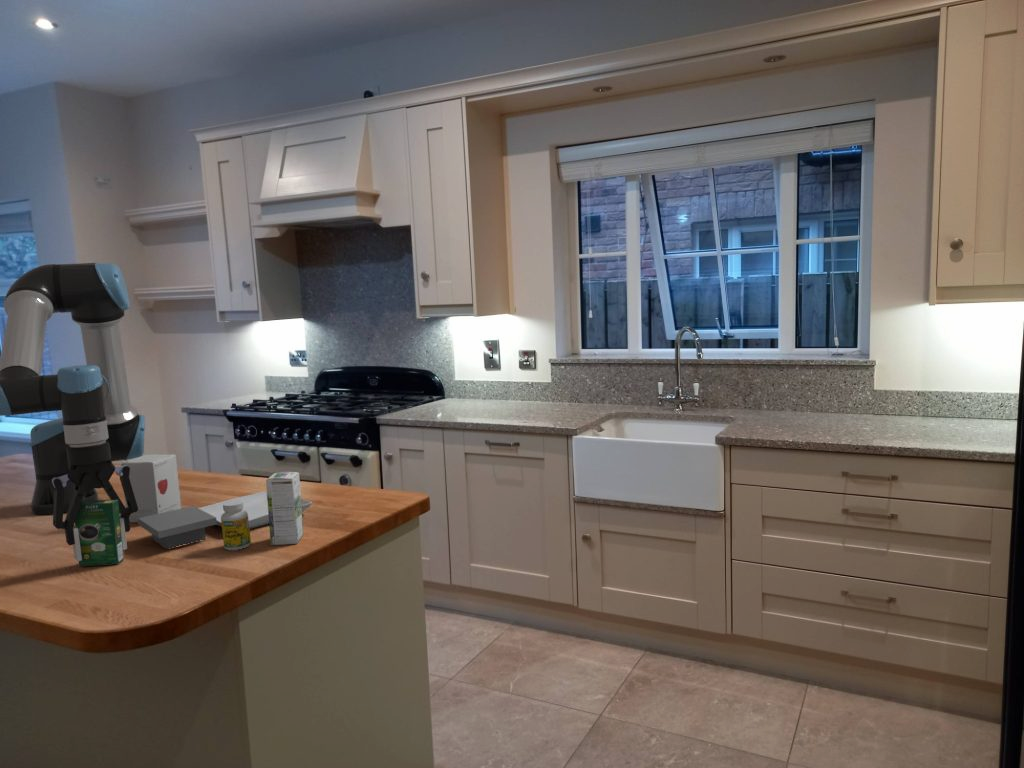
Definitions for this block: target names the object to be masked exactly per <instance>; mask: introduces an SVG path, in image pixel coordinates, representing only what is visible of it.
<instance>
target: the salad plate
mask: <svg viewBox="0 0 1024 768" xmlns="http://www.w3.org/2000/svg"><path fill="white" fill-rule="evenodd" d="M236 500H240V501H243V506H244V507H243V510H245V511H246V512H247V513H248V520H249V530H251V529H256V528H259V527H262V526H266V525H269V515H268V501H267V490H266V491H260V492H258V493H252V494H247V495H243V496H239V497H235V498H231V499H227V500H224V501H220V502H217V503H212V504H209V505H205V506H202V507H198V508H199V509H200V510H202V511H204V512H206V513H208V514H210V515H212V516H214V517H216V521H217V524H216V526H219V527H221V528H222V523H221V516H222V514H223V513H225V511H224V510H223V504H224V503H226V502H229V501H236ZM312 504H313V502H312V501H309V500H307V499H303V498H301V506H302V513H303V512H304V511H306V510H308V509H309V508H310V507H311V505H312Z"/></svg>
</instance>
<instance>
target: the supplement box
mask: <svg viewBox="0 0 1024 768" xmlns="http://www.w3.org/2000/svg"><path fill="white" fill-rule="evenodd" d="M177 463H178V462H177V455H176V454H172V453H171V454H143V455H142V456H140V457H137V458H134V459H128V460H126V461H122V462H121V464H120V466H121V465H126V466H128V467H129V468H130V473H129V479H130V482H131V486H132V489H133V493H134V496H135V499H136V503H137V506H138V511H137V512H134V513H132V514H130V517H129V522H130V523H138V518H142V517H146V516H150V515H155V514H159V513H164V512H168V511H173V510H177V509H181V508H182V503H181V502H182V501H181V493H180V484H179V483H180V482H179V473H178V465H177ZM123 495H124V496H125V494H124V493H123ZM124 503H125V508H127V507H128V505H127V501H126V498H125V497H124Z"/></svg>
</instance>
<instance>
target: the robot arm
mask: <svg viewBox="0 0 1024 768" xmlns="http://www.w3.org/2000/svg"><path fill="white" fill-rule="evenodd" d="M130 307H131V304H130V298H129V295H128V288H127V285H126V282H125V278H124V276H123V273H122V270H121V268H120V267H119V266H118V265H116V264H115V263H111V262H110V263H108V262H107V263H104V262H103V263H102V262H101V263H100V262H84V263H64V264H55V263H52V264H51V263H49V264H44V265H40V266H37V267H35V268H32V269H30V270H28V271H26V272H24V274H22V275H21V276H19V277H18V278H17V279H16V280H15V281H14V282H13V284H12V285H11V286H10V287H9V288H8V291H7V293H6V295H5V297H4V304H3V308H4V313H5V315H7V317H6V321H5V322H6V323H5V328H4V333H3V340H2V346H1V351H0V417H3V416H5V417H6V416H7V417H10V416H18V415H27V414H36V413H43V412H58V411H61V418H55V419H52V420H48V421H44V422H40V423H38V424H36V425H35V426H33V427H32V428H31V430H30V433H29V434H30V447H31V452H32V453H31V454H32V460H33V467H34V474H35V486H34V491H33V495H32V499H31V503H30V505H31V506H30V507H31V512H32V513H33V514H34V515H52V525H53V527H54V528H55V529H58V530H61V529H62V530H64V534H65V542H66V543H67V545H68V546H72V548H73V557H74V559H75V560H76V562H79V561H81V560H82V556H81V548H80V540H79V532H78V528H77V527H76V526H75V520H76V517H77V514H78V511H79V508H80V505H81V502H82V501H97V500H99V493H98V492H97V491H98V490H97V489H103V490H104V492H105V493H106V495H107V496H108V498H109V500H118V504H119V514H120V526H121V537H122V548H123V551H124V550H127V549H128V544H127V536H126V533H128V532H130V531H131V524H130V523H131V522H129V517H130V514H132V513H134V512H137V511H138V506H137V503H136V499H135V496H134V493H133V489H132V486H131V482H130V479H129V473H130V468H129V467H128V466H126V465H121V464H120V465H114V464H113V463H114V462H120V461H122V462H125V461H128V460H131V459H134V458H137V457H140V456H143V455H144V453H145V425H146V424H145V422H146V421H145V420H146V416H145V415H143V414H139V410H138V409H137V407H135V406H134V405H132V404H131V397H130V390H129V383H128V377H127V372H126V371H127V370H126V364H125V357H124V356H125V355H124V350H123V349H124V348H123V344H122V343H123V342H122V336H121V335H122V334H121V329H120V321H121V320H123V319H124V317H125V311H127V310H129V309H130ZM57 313H61V314H62V313H70V314H71V320H72V321H73V323H76V324H77V325H79V326H80V332H81V339H82V345H83V351H84V357H85V362H86V364H84V365H83V364H82V365H81V364H80V365H70V366H64V367H60V368H59V369H58V370H57V372H56V374H55V373H54V374H45V375H44V374H42V367H43V357H44V349H45V342H46V331H47V324H48V323H47V322H48V320H50V319H51V317H52V316H53V315H54V314H57ZM114 473H116V476H118V477H119V480H120V483H121V487H122V490H123V495H124V494H125V495H124V499H125V498H126V501H127V505H128V507H127V508H126V505H124V503H123V500H121V498H120V497H119V495H118V493H117V491H115V489H114V487H113V485H112V483H111V481H110V480H111V478H112V477H113V475H114ZM65 513H66V514H65ZM64 514H65V515H66V516H65V519H64Z"/></svg>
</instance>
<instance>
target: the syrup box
mask: <svg viewBox="0 0 1024 768" xmlns="http://www.w3.org/2000/svg"><path fill="white" fill-rule="evenodd" d="M300 481H301V480H300V473H299V472H297V471H296V472H295V471H281V472H275V473H274V472H273V473H272V475H270V476H269V477H268V478H267V479H266V480H265V484H266V486H265V487H266V491H267V501H268V515H269V524H268V526H269V537H270V538H269V539H270V540H269V541H270V546H281V545H293V544H296V545H297V544H298V543H299V542H300V540H301V539H302V537H303V536H304V525H303V524H304V523H303V512H302V506H301V499H302V496H301V482H300Z"/></svg>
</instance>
